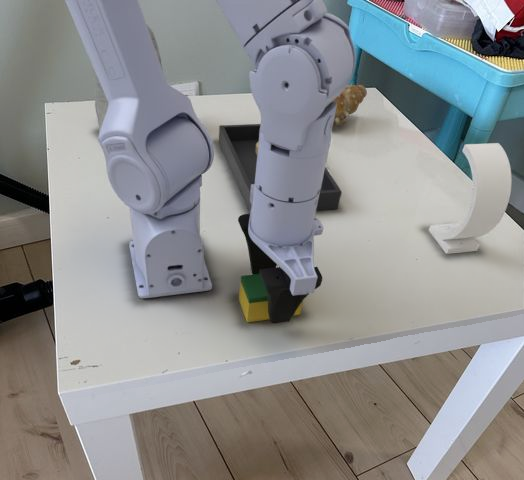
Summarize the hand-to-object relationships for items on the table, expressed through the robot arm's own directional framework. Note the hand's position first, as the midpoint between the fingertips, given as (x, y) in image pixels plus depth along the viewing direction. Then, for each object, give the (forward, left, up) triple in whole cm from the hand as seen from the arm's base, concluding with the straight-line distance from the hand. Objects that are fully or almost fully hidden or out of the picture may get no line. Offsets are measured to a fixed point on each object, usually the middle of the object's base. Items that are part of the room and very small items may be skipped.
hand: (270, 297), depth 53 cm
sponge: (0, 0, -1) cm, 1 cm away
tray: (+26, -8, -1) cm, 27 cm away
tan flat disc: (+31, -8, -1) cm, 32 cm away
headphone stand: (+7, -27, -2) cm, 28 cm away
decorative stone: (+41, +9, -2) cm, 42 cm away
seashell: (+41, -22, -2) cm, 47 cm away
